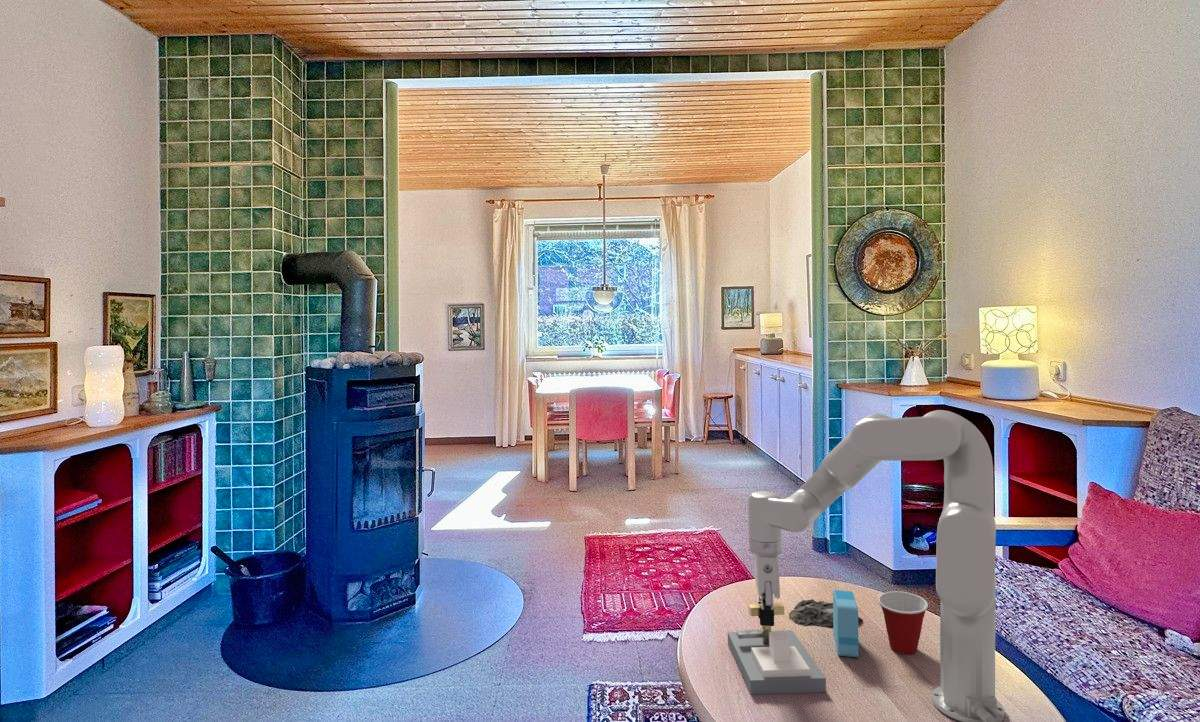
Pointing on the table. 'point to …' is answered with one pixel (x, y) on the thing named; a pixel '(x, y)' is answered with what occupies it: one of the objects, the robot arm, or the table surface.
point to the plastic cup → (903, 619)
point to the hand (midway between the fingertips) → (766, 621)
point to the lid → (779, 658)
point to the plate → (774, 684)
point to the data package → (845, 623)
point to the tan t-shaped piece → (764, 632)
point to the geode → (813, 613)
